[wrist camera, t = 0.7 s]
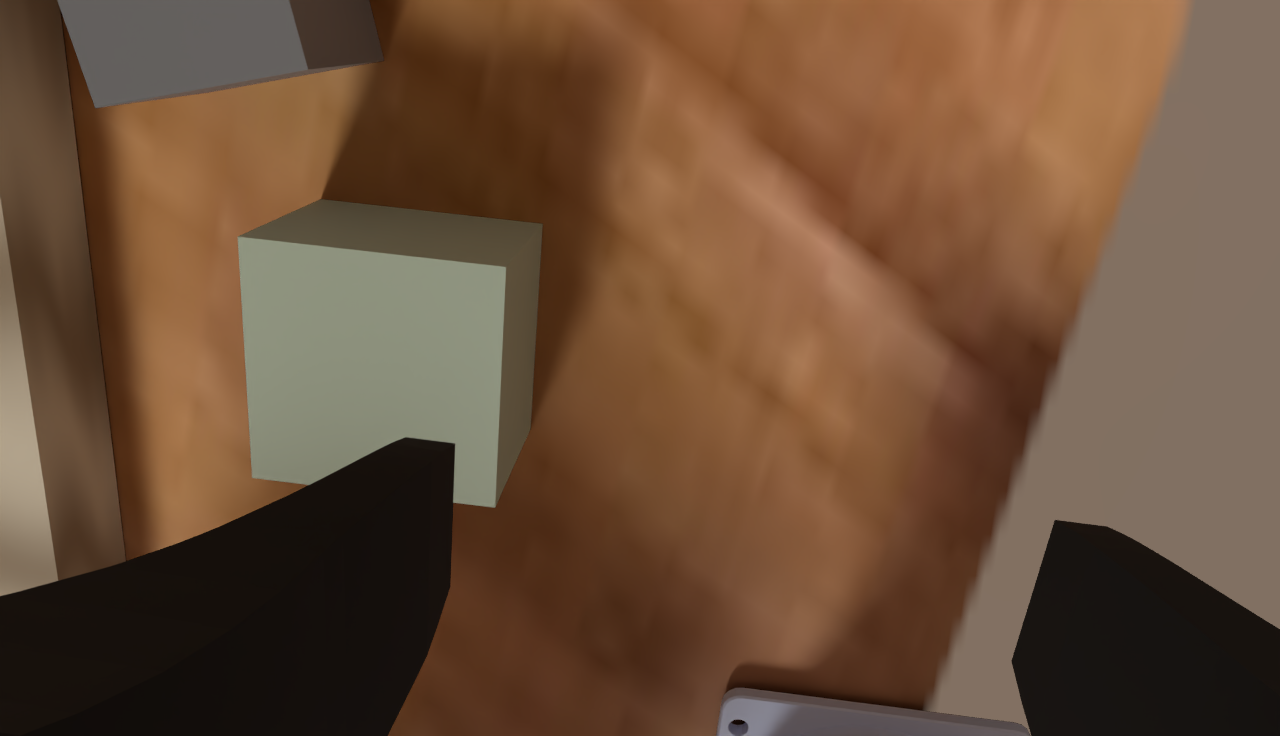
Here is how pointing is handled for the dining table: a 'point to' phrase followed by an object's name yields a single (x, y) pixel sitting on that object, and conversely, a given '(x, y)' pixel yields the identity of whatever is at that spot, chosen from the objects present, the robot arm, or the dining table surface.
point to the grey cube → (212, 43)
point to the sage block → (389, 339)
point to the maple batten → (48, 325)
